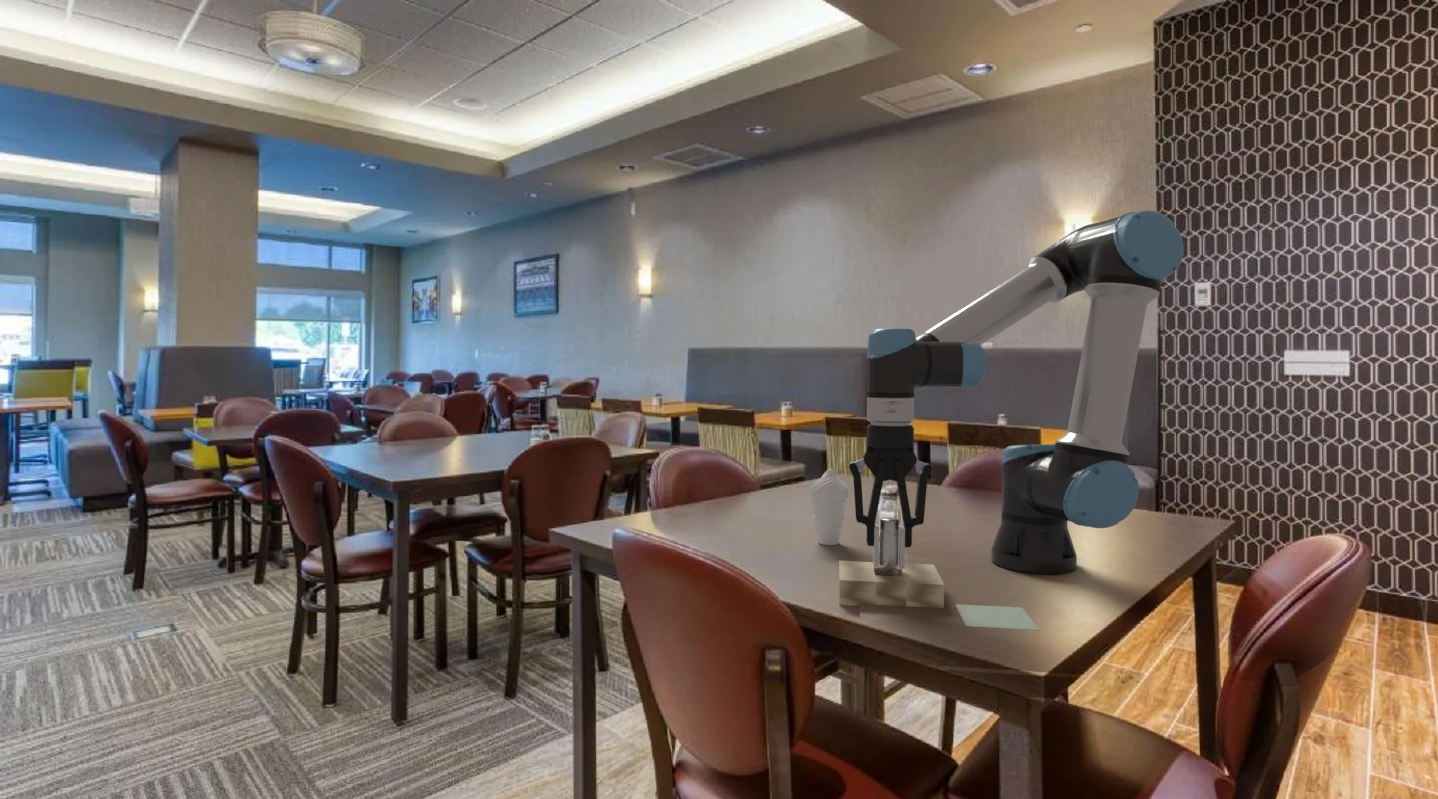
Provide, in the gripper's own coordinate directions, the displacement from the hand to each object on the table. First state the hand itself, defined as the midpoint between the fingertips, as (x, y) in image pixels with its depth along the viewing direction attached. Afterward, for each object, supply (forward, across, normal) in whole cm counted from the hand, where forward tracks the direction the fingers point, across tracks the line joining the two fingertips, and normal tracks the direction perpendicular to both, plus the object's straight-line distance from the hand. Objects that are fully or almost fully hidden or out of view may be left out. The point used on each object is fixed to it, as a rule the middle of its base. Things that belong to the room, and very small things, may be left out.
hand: (888, 565), depth 122 cm
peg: (+4, 0, 0) cm, 4 cm away
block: (+5, 0, 0) cm, 5 cm away
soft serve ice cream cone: (+5, -10, +36) cm, 38 cm away
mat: (+5, +15, -9) cm, 18 cm away
